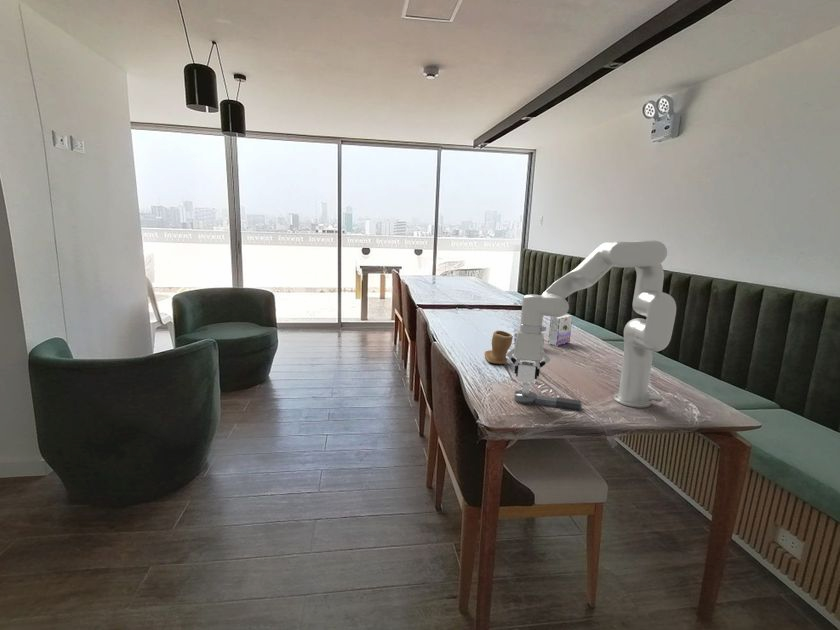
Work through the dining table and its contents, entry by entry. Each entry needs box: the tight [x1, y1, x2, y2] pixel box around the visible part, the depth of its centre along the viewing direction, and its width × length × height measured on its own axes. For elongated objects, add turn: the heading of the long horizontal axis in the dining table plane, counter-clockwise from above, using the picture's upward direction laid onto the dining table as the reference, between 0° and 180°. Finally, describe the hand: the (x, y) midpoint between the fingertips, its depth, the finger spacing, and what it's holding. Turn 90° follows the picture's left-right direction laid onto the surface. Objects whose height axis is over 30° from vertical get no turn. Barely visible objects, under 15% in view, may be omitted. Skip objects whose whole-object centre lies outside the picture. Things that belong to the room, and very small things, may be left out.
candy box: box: [547, 314, 573, 347], centre depth 242 cm, size 14×6×16 cm, turn 130°
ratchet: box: [513, 381, 583, 411], centre depth 153 cm, size 24×8×6 cm, turn 71°
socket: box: [516, 360, 536, 384], centre depth 154 cm, size 6×6×6 cm
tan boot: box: [484, 330, 514, 365], centre depth 204 cm, size 15×12×15 cm
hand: (526, 376), depth 155 cm, fingers closed on socket, 6 cm apart
